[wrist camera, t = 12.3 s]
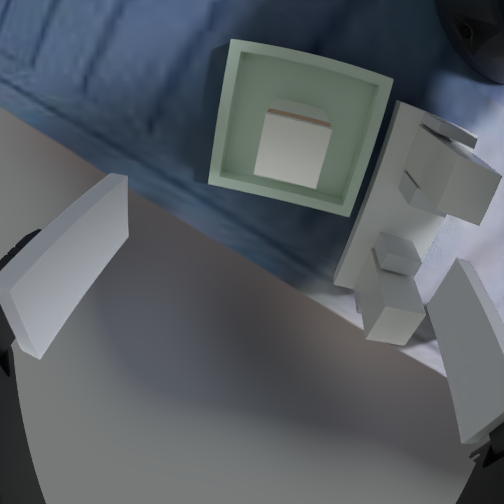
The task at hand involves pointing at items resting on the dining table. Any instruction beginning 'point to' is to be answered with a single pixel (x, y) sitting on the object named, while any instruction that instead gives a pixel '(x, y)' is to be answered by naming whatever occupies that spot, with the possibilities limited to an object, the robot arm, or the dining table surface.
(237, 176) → the tray
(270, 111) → the block
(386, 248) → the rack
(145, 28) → the dining table surface
